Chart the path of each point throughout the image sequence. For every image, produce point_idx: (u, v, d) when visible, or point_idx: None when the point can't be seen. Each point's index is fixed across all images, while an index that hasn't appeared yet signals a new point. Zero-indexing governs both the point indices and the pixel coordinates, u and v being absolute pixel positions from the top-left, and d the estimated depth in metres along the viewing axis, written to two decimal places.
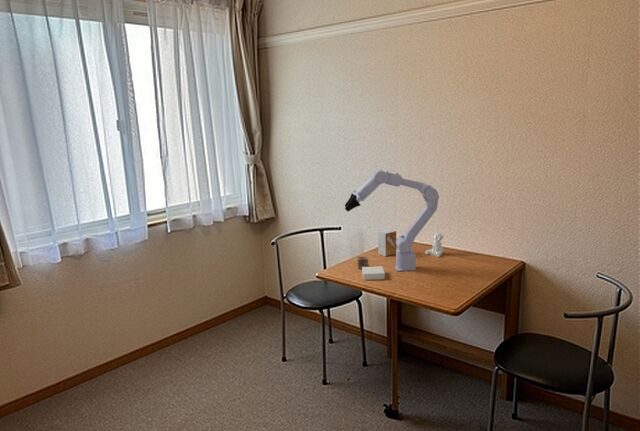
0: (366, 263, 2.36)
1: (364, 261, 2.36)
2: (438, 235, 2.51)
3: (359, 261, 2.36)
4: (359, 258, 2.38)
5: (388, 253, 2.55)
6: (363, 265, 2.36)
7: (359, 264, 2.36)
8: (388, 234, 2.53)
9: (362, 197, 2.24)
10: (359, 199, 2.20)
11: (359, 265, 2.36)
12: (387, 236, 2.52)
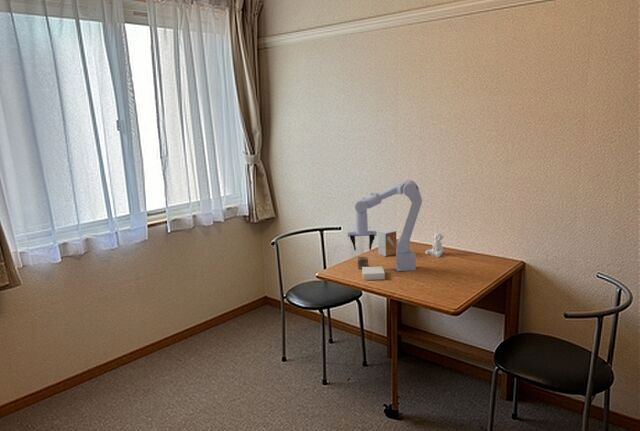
0: (366, 263, 2.36)
1: (364, 261, 2.36)
2: (438, 235, 2.51)
3: (359, 261, 2.36)
4: (359, 258, 2.38)
5: (388, 253, 2.55)
6: (363, 265, 2.36)
7: (359, 264, 2.36)
8: (388, 234, 2.53)
9: (357, 231, 2.34)
10: None
11: (359, 265, 2.36)
12: (387, 236, 2.52)
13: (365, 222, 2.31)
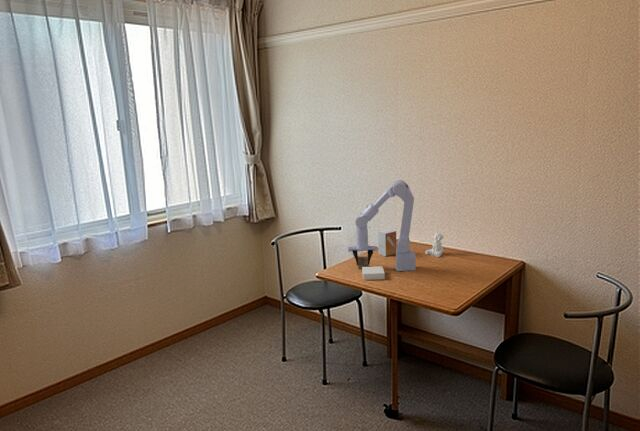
0: (366, 263, 2.36)
1: (364, 261, 2.36)
2: (438, 235, 2.51)
3: (359, 261, 2.36)
4: (359, 258, 2.38)
5: (388, 253, 2.55)
6: (363, 265, 2.36)
7: (359, 264, 2.36)
8: (388, 234, 2.53)
9: (357, 246, 2.35)
10: (348, 249, 2.37)
11: (359, 265, 2.36)
12: (387, 236, 2.52)
13: (365, 237, 2.33)
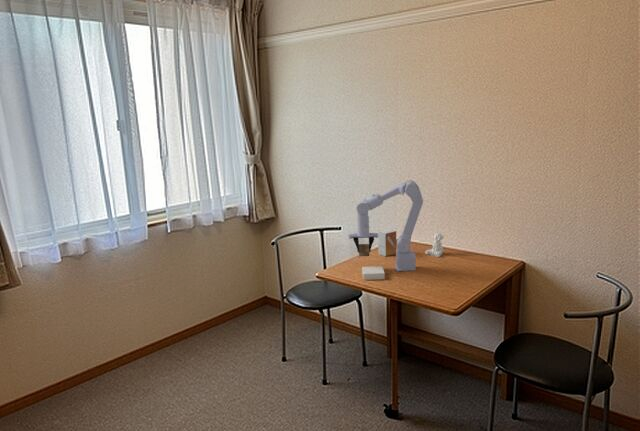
0: (367, 250, 2.32)
1: (365, 248, 2.32)
2: (438, 235, 2.51)
3: (360, 248, 2.32)
4: (360, 245, 2.34)
5: (388, 253, 2.55)
6: (364, 252, 2.33)
7: (360, 251, 2.33)
8: (388, 234, 2.53)
9: (358, 233, 2.32)
10: (349, 236, 2.34)
11: (360, 252, 2.33)
12: (387, 236, 2.52)
13: (367, 224, 2.30)
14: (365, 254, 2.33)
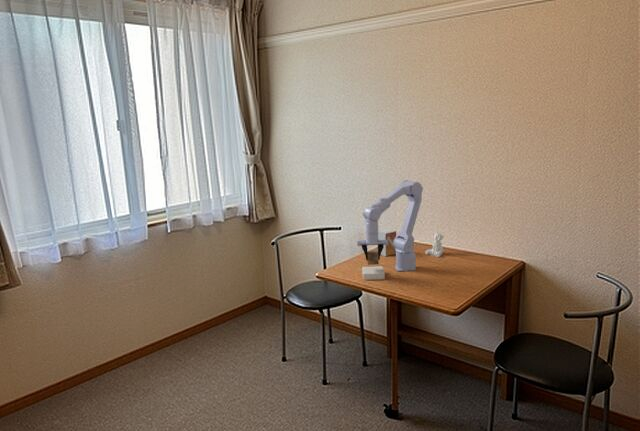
0: (376, 258, 2.22)
1: (374, 256, 2.22)
2: (438, 235, 2.51)
3: (369, 256, 2.22)
4: (369, 253, 2.23)
5: (388, 253, 2.55)
6: (373, 260, 2.22)
7: (369, 259, 2.22)
8: (388, 234, 2.53)
9: (367, 240, 2.21)
10: (357, 243, 2.23)
11: (369, 260, 2.22)
12: (387, 236, 2.52)
13: None
14: (374, 262, 2.22)
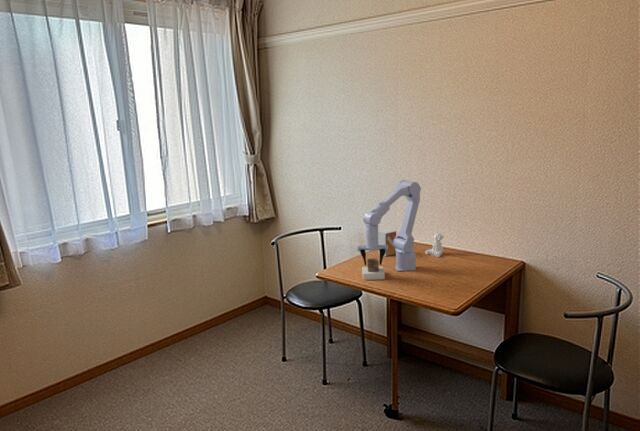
0: (376, 265, 2.22)
1: (375, 263, 2.22)
2: (438, 235, 2.51)
3: (369, 263, 2.22)
4: (369, 260, 2.24)
5: (388, 253, 2.55)
6: (373, 267, 2.23)
7: (369, 266, 2.23)
8: (388, 234, 2.53)
9: (367, 245, 2.22)
10: (357, 248, 2.23)
11: (369, 267, 2.23)
12: (387, 236, 2.52)
13: None
14: (374, 269, 2.23)
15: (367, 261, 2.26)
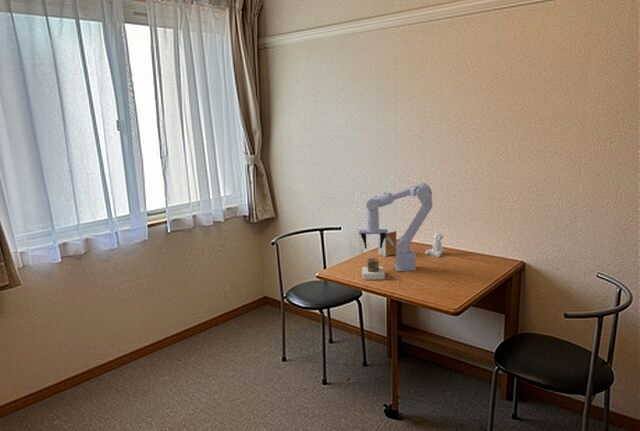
0: (376, 265, 2.22)
1: (375, 263, 2.22)
2: (438, 235, 2.51)
3: (369, 263, 2.22)
4: (369, 260, 2.24)
5: (388, 253, 2.55)
6: (373, 267, 2.23)
7: (369, 266, 2.23)
8: (388, 234, 2.53)
9: (368, 229, 2.33)
10: None
11: (369, 267, 2.23)
12: (387, 236, 2.52)
13: (376, 220, 2.30)
14: (374, 269, 2.23)
15: (367, 261, 2.26)
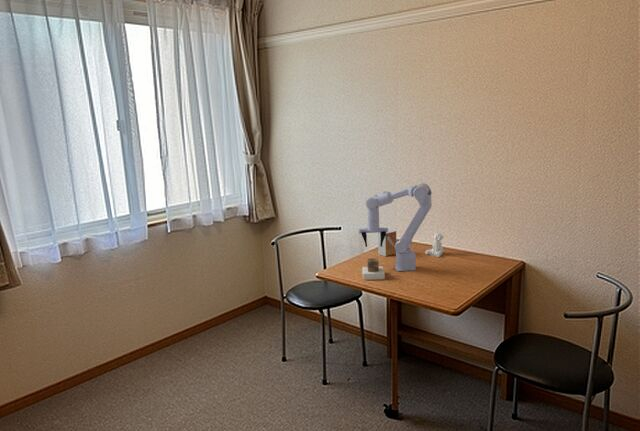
0: (376, 265, 2.22)
1: (375, 263, 2.22)
2: (438, 235, 2.51)
3: (369, 263, 2.22)
4: (369, 260, 2.24)
5: (388, 253, 2.55)
6: (373, 267, 2.23)
7: (369, 266, 2.23)
8: (388, 234, 2.53)
9: (368, 228, 2.35)
10: (359, 230, 2.37)
11: (369, 267, 2.23)
12: (387, 236, 2.52)
13: (376, 219, 2.33)
14: (374, 269, 2.23)
15: (367, 261, 2.26)
